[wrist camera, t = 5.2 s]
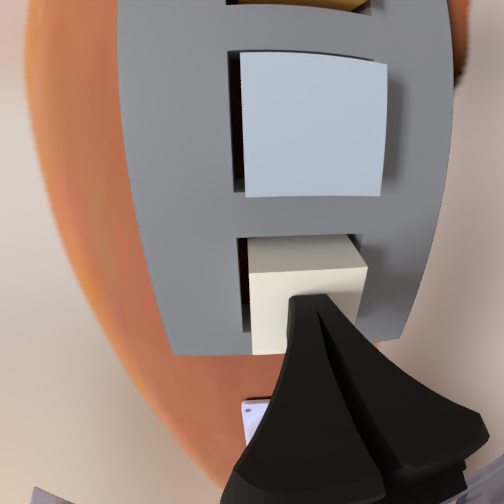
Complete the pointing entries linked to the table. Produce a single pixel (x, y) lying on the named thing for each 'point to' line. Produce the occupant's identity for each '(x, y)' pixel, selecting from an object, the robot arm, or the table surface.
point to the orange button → (312, 3)
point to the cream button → (299, 281)
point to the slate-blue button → (312, 124)
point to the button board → (233, 188)
